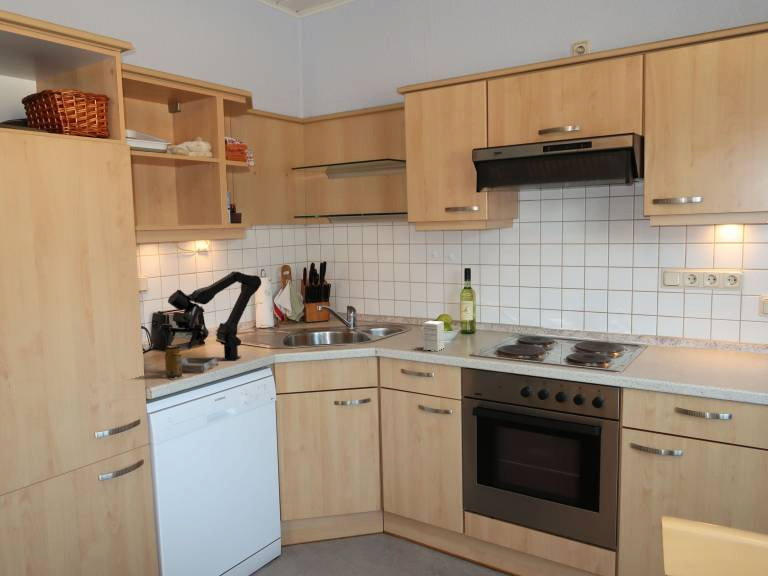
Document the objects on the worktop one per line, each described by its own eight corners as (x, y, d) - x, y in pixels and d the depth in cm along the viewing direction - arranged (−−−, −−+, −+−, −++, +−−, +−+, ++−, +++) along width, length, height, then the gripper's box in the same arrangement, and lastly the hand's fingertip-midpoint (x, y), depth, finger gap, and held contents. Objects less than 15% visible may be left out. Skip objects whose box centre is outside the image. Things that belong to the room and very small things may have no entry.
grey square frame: (187, 364, 264) (186, 357, 263) (218, 364, 261) (217, 357, 261) (170, 372, 250) (170, 365, 250) (203, 373, 247) (202, 365, 247)
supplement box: (430, 347, 287) (429, 320, 285) (444, 348, 283) (444, 321, 281) (422, 350, 280) (422, 322, 279) (437, 352, 276) (437, 323, 275)
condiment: (177, 373, 249) (176, 343, 248) (189, 376, 243) (187, 346, 242) (160, 376, 243) (158, 346, 242) (172, 380, 238) (170, 349, 236)
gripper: (160, 304, 251) (147, 336, 242) (204, 304, 248) (192, 337, 238) (171, 320, 260) (159, 352, 250) (213, 321, 256) (202, 353, 247)
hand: (177, 348), depth 246 cm, fingers open, 9 cm apart
